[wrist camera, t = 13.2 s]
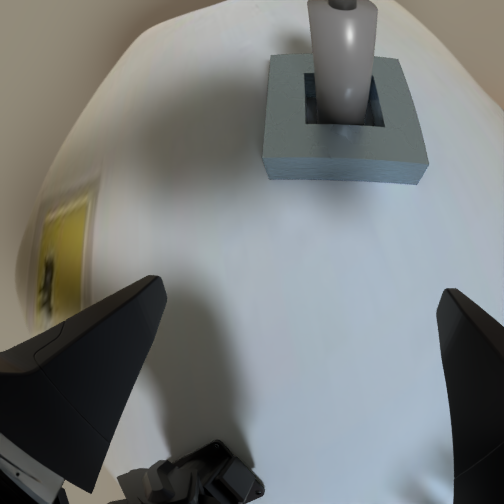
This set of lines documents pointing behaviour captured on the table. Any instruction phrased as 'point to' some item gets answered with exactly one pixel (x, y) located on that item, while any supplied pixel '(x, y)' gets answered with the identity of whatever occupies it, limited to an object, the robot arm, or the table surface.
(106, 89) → the table surface
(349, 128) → the grey square frame
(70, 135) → the table surface
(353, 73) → the plug
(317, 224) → the table surface
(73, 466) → the robot arm
